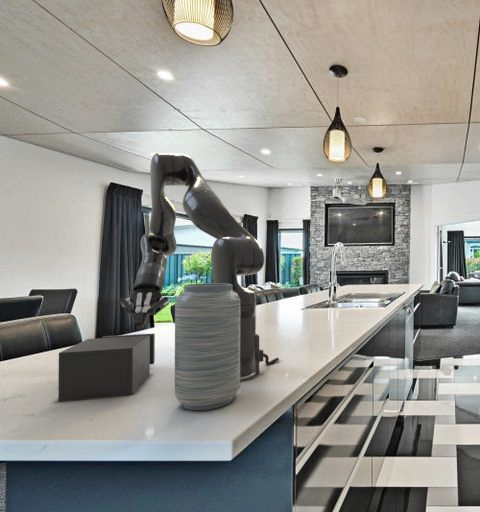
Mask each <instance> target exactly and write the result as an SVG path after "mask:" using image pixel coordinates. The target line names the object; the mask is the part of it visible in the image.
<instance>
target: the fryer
mask: <svg viewBox="0 0 480 512" xmlns="http://www.w3.org/2000/svg"><path fill="white" fill-rule="evenodd" d="M150 368H151V364H150V335H149V336H131V337H114V338H102V337H100V338H97V337H96V338H87V339H85V340H83V341H81V342H79V343H77V344H74V345H72V346H70V347H68V348H66V349H64V350H62V351H60V352H58V387H57V388H58V391H57V394H58V398H57V402H58V403H60V402H71V401H80V400H90V399H99V398H100V399H101V398H110V397H119V396H129V395H134V393H135V392H136V391H137V390H138V388H139V387H141V386H142V384H143V383H144V382H145V381H146V380H147V378H149V376H150V374H151V373H150V370H151V369H150Z"/></svg>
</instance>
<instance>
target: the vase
mask: <svg viewBox="0 0 480 512" xmlns="http://www.w3.org/2000/svg"><path fill="white" fill-rule="evenodd" d="M240 387H241V380H240V298H239V296H238V294H237V293H236V292H234V291H233V285H232V284H229V283H212V282H211V283H210V282H209V283H208V282H207V283H190V284H184V285H183V291H182V292H181V293H180V294H179V295H177V297H176V299H175V302H174V396H175V398H176V399H177V401H178V402H179V403H181V405H182V406H183V408H184V409H187V410H190V411H207V410H214V409H217V408H221V407H224V406H227V405H228V404H229V403H231V402H232V400H233V398H234V397H235V395H237V393H238V392H239V390H240Z"/></svg>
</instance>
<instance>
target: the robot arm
mask: <svg viewBox="0 0 480 512" xmlns="http://www.w3.org/2000/svg"><path fill="white" fill-rule="evenodd" d="M149 167H150V168H149V169H150V170H149V172H150V196H151V197H150V198H151V199H150V200H151V213H150V219H149V227H148V229H149V231H150V232H146V233H144V234H143V235H142V237H141V239H140V249H141V255H142V258H141V263H140V267H139V269H138V271H137V273H136V277H135V280H134V281H135V282H134V285H133V288H132V291H131V293H130V294H129V296H128V297H126V298H124V297H121V298H119V303H120V305H121V307H122V308H123V309H124V310H125V311H126V313H128V314H129V315H130V317H134V319H133V324H134V326H135V327H136V328H137V329H140V328H144V326H146V325H147V322H148V317H150V316H156V315H157V314H159V313H160V312H161V311H163V309H165V308H166V307H167V306H169V305H170V300H169V297H167V296H165V297H164V295H163V288H164V284H165V279H166V269H167V265H168V258H167V257H170V256H172V255H173V254H174V253H176V250H177V240H176V236H175V225H176V221H177V211H176V208H175V206H174V205H173V203H172V202H171V200H170V199H169V198H168V196H167V194H166V193H165V186H168V187H169V186H174V187H175V186H185V187H187V190H186V191H185V192H184V193H185V194H184V195H183V199H182V208H183V211H184V212H185V214H186V216H187V217H188V218H189V220H190V221H191V223H192V224H193V225H194V226H195V227H196V228H197V229H198V230H200V231H202V232H204V233H205V234H207V235H209V236H210V237H212V238H214V239H215V241H214V242H213V244H212V247H211V253H210V267H211V283H229V284H232V285H233V291H234V292H236V293H237V294H238V296H239V298H240V381H245V380H248V379H251V378H253V377H255V376H257V375H260V363H261V362H264V363H265V364H266V365H268V366H269V365H272V364H275V363H276V362H278V361H279V360H280V358H279V357H275V358H274V359H272V360H270V359H269V358H270V357H269V355H268V354H266V353H265V352H264V350H263V349H260V335H259V334H258V333H257V316H256V315H257V304H256V303H257V294H256V292H255V291H254V290H250V289H248V288H245V287H244V286H242V285H240V283H239V282H238V277H239V276H252V275H255V274H258V273H260V272H261V271H262V269H263V267H264V265H265V254H264V250H263V248H262V246H261V244H260V243H259V242H258V240H257V239H256V238H255V237H254V236H253V235H252V234H251V233H250V232H249V231H248V230H247V229H245V228H244V227H243V226H242V225H241V223H240V222H239V221H237V219H236V218H235V217H234V215H233V214H232V213H231V212H230V211H229V209H228V208H227V207H226V205H225V204H224V202H223V201H222V200H221V198H220V197H219V196H218V195H217V194H216V193H215V191H214V190H213V189H212V188H211V186H210V185H209V184H208V182H207V181H206V180H205V177H204V176H203V175H202V173H201V171H200V170H199V168H198V166H197V164H196V163H195V161H194V159H192V157H191V156H189V155H187V154H185V153H172V152H171V153H169V152H168V153H167V152H157V153H155V154H153V155H152V157H151V160H150V166H149ZM131 302H132V304H133V305H134V306H135V308H134V307H133V306H132V305H131ZM264 358H265V361H264ZM269 360H270V361H269Z"/></svg>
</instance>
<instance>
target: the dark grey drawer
mask: <svg viewBox="0 0 480 512" xmlns="http://www.w3.org/2000/svg"><path fill="white" fill-rule="evenodd" d="M149 335H150V365H154V364H155V362H156V358H155V355H156V354H155V353H156V351H155V350H156V337H155V336H156V334H155V333H137V334H121V335H120V334H119V335H118V334H117V335H103V336H102V337H101V338H114V337H131V336H149Z"/></svg>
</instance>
